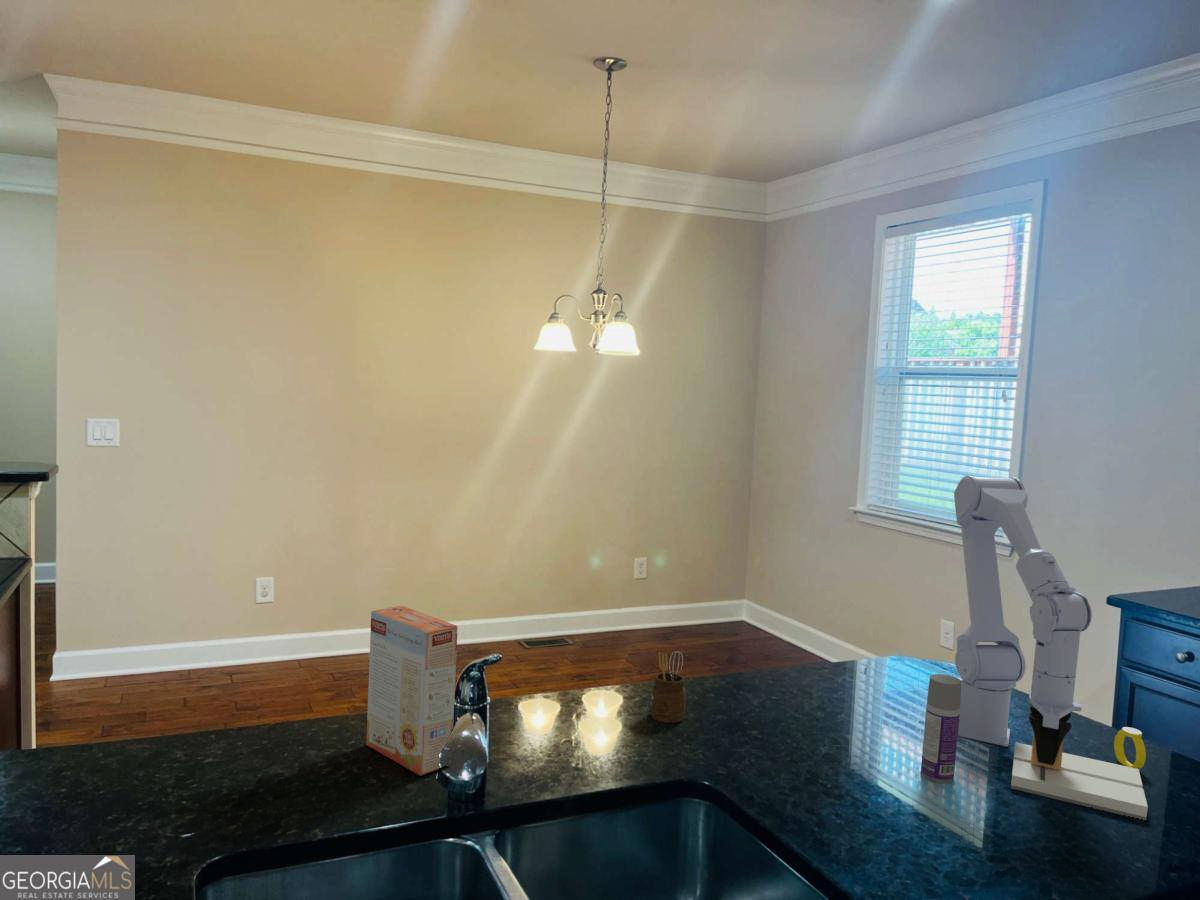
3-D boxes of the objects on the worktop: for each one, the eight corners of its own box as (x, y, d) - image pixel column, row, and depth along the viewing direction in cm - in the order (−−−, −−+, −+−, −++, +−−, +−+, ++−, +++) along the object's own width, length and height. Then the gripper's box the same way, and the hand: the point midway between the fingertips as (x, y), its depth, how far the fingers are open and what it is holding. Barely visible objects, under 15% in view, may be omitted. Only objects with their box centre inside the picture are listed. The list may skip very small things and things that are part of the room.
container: (952, 772, 131) (961, 676, 130) (954, 785, 127) (963, 686, 125) (920, 766, 133) (928, 671, 131) (920, 779, 128) (929, 681, 127)
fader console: (1010, 788, 127) (1012, 774, 127) (1014, 754, 139) (1015, 741, 139) (1146, 820, 119) (1147, 806, 119) (1137, 781, 131) (1138, 768, 131)
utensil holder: (690, 716, 148) (695, 648, 147) (673, 727, 143) (678, 657, 142) (660, 707, 151) (664, 640, 150) (642, 718, 146) (646, 649, 145)
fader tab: (1029, 773, 131) (1033, 731, 130) (1030, 766, 133) (1034, 725, 133) (1059, 780, 129) (1063, 737, 128) (1059, 772, 131) (1063, 731, 131)
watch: (1147, 776, 135) (1153, 740, 134) (1130, 775, 134) (1135, 739, 134) (1124, 756, 140) (1129, 722, 140) (1107, 755, 140) (1112, 721, 140)
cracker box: (454, 766, 124) (460, 624, 123) (419, 778, 120) (425, 631, 118) (398, 735, 134) (403, 603, 132) (364, 745, 129) (369, 609, 128)
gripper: (1086, 691, 121) (1076, 784, 123) (1083, 664, 134) (1074, 748, 135) (1030, 680, 125) (1022, 771, 126) (1032, 655, 138) (1024, 737, 139)
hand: (1045, 758), depth 131 cm, fingers closed on fader tab, 3 cm apart
